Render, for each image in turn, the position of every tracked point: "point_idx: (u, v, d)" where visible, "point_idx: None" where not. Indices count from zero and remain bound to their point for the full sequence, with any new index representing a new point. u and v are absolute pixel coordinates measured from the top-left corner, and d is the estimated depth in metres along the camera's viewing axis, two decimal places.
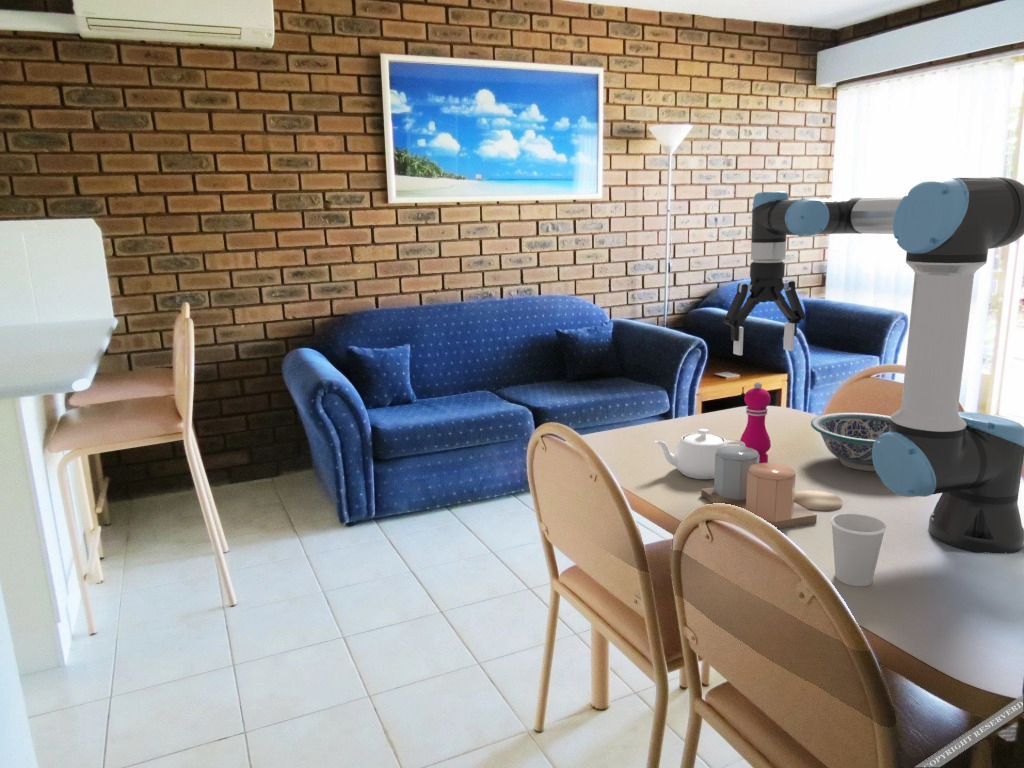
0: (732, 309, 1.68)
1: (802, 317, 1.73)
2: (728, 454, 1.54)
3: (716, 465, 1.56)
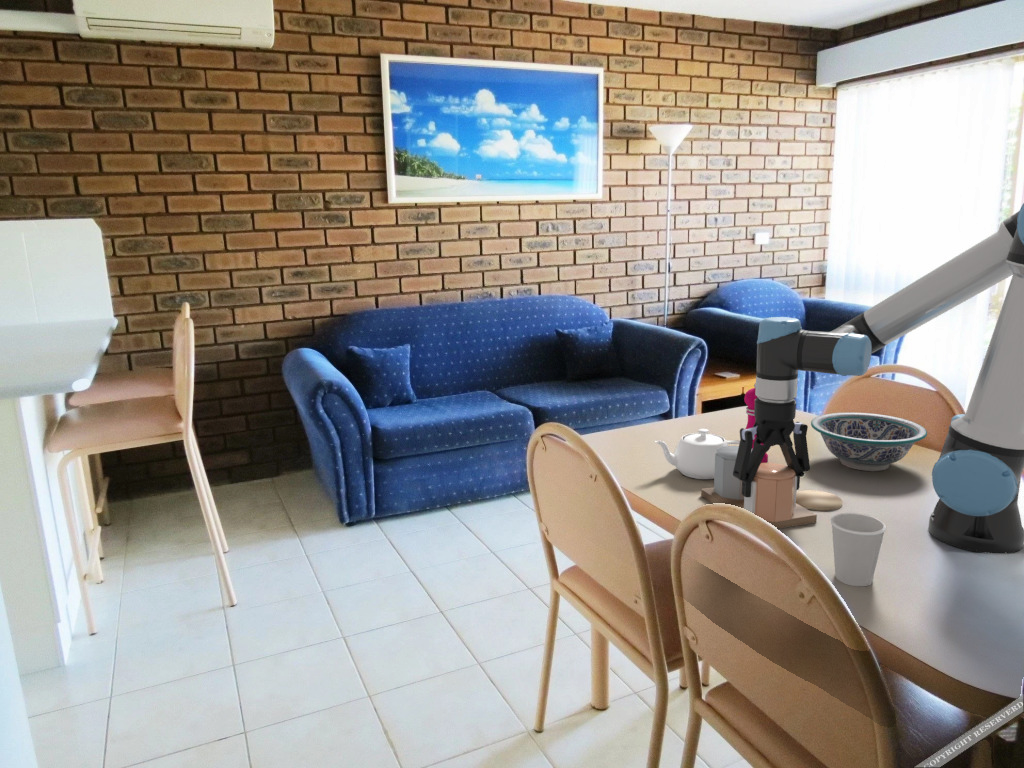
0: (739, 460, 1.42)
1: (806, 468, 1.45)
2: (728, 454, 1.54)
3: (716, 465, 1.56)
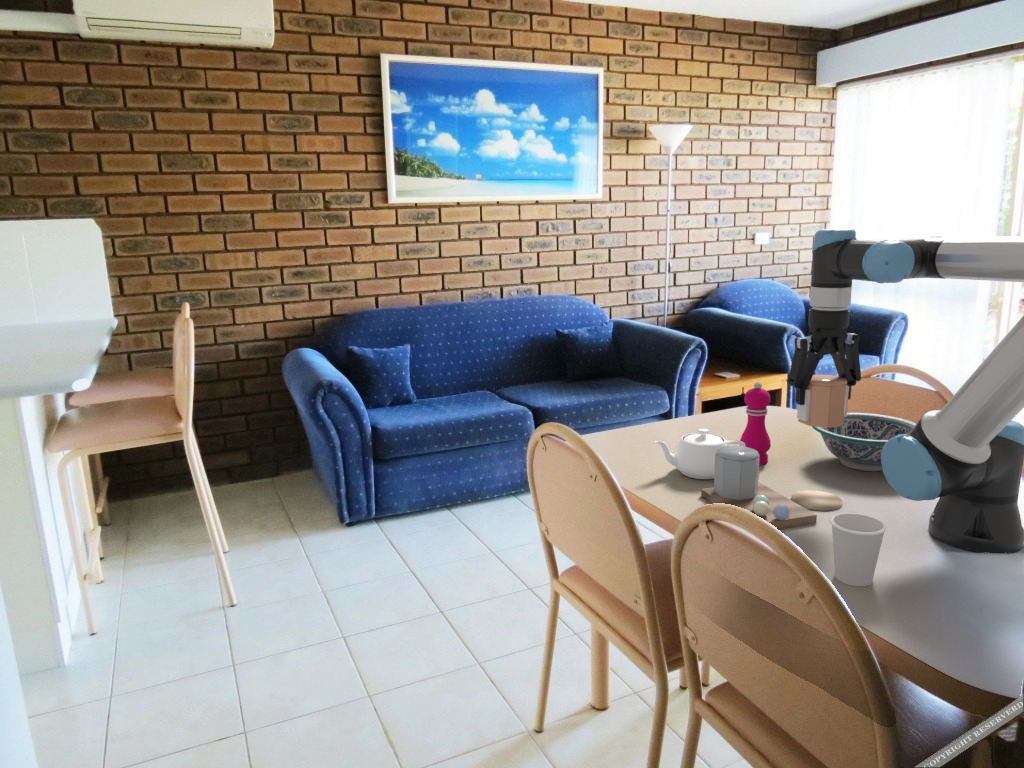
0: (794, 368, 1.47)
1: (857, 378, 1.50)
2: (728, 454, 1.54)
3: (716, 465, 1.56)
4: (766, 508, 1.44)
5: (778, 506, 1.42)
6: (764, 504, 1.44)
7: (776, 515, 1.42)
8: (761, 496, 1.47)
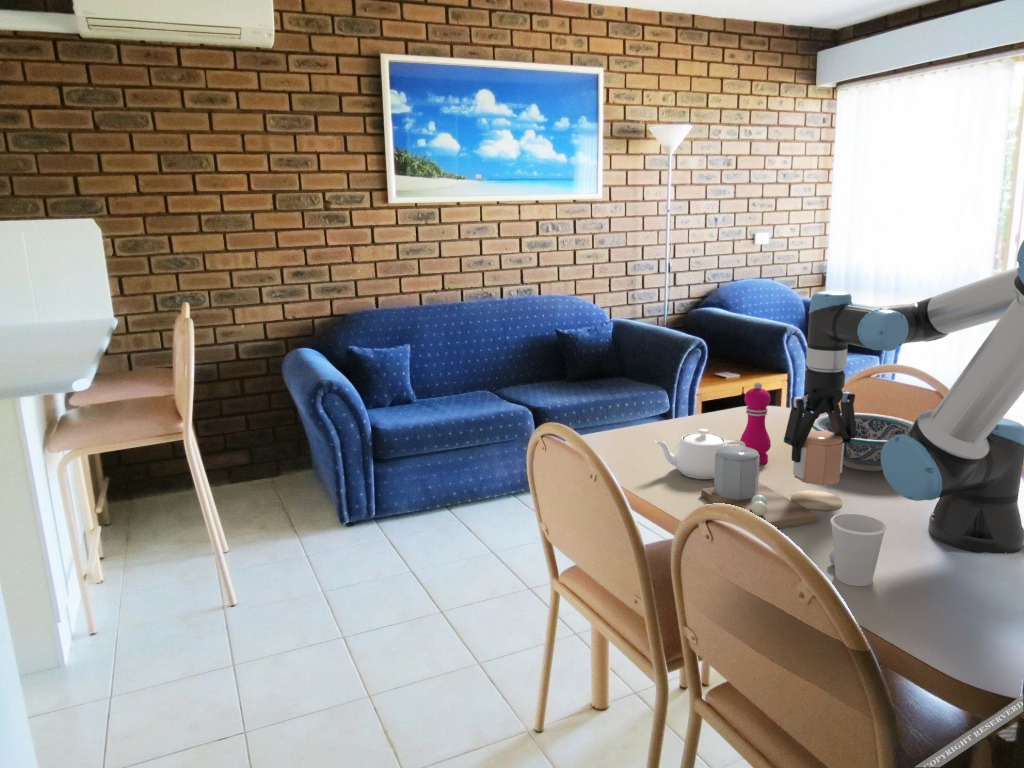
0: (790, 427, 1.50)
1: (853, 435, 1.53)
2: (728, 454, 1.54)
3: (716, 465, 1.56)
4: (763, 507, 1.44)
5: None
6: (760, 504, 1.44)
7: None
8: (757, 496, 1.48)
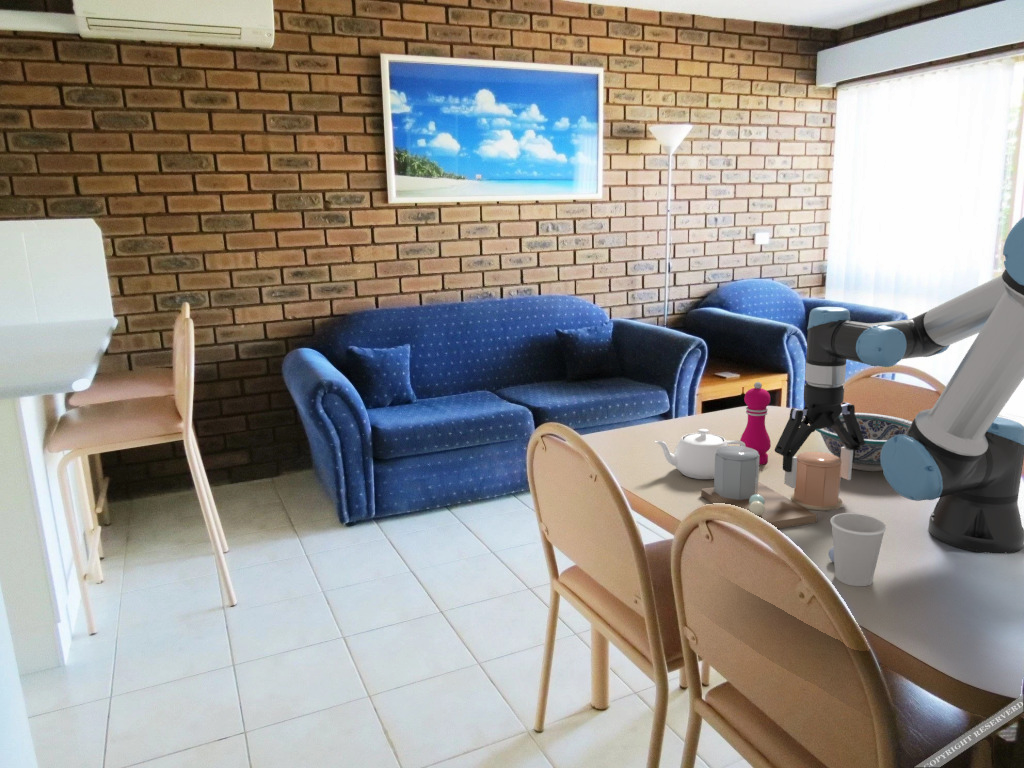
0: (784, 437, 1.50)
1: (861, 443, 1.54)
2: (728, 454, 1.54)
3: (716, 465, 1.56)
4: (760, 507, 1.44)
5: None
6: (756, 504, 1.44)
7: None
8: (753, 496, 1.48)
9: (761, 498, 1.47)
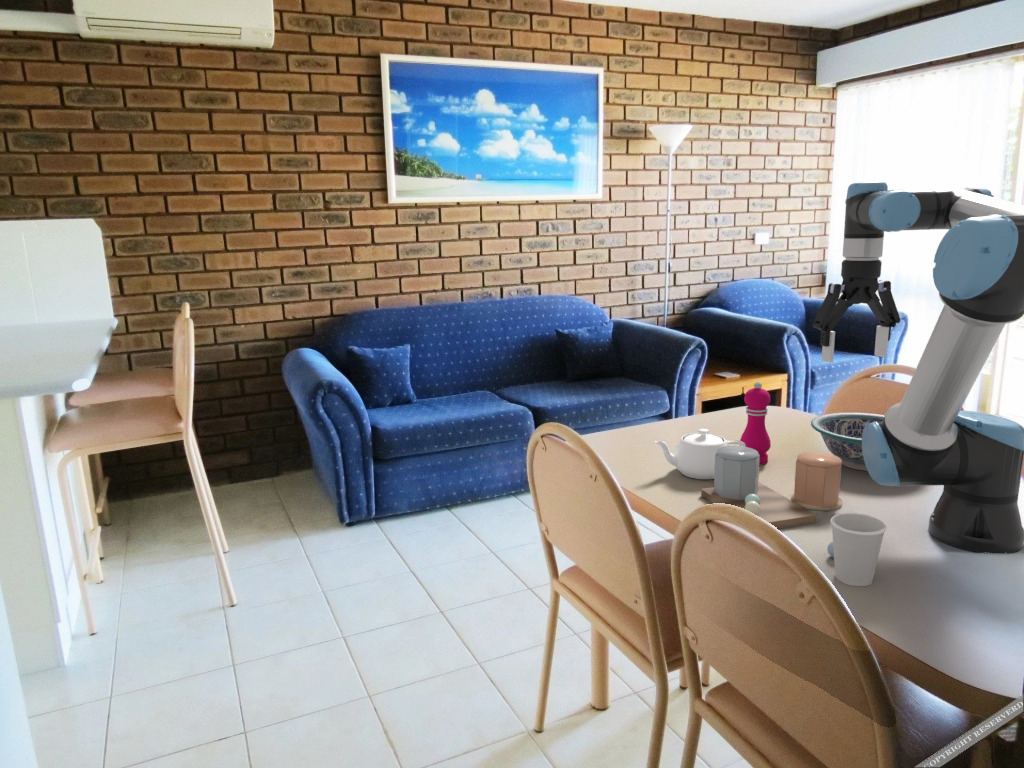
0: (822, 311, 1.53)
1: (897, 320, 1.57)
2: (728, 454, 1.54)
3: (716, 465, 1.56)
4: (753, 507, 1.44)
5: None
6: (749, 506, 1.44)
7: (832, 542, 1.31)
8: (745, 498, 1.49)
9: (753, 495, 1.48)
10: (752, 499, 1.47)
